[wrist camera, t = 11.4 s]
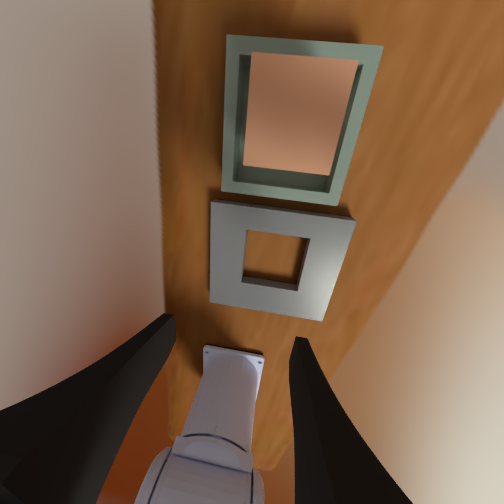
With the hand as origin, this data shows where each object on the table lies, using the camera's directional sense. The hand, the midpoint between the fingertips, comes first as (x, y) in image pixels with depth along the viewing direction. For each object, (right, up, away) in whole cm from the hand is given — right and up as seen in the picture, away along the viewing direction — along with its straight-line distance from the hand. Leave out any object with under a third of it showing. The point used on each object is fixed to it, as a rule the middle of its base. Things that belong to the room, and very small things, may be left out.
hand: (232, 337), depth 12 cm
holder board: (+3, +5, +8) cm, 10 cm away
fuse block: (+4, +14, +3) cm, 14 cm away
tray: (+4, +14, +3) cm, 15 cm away
